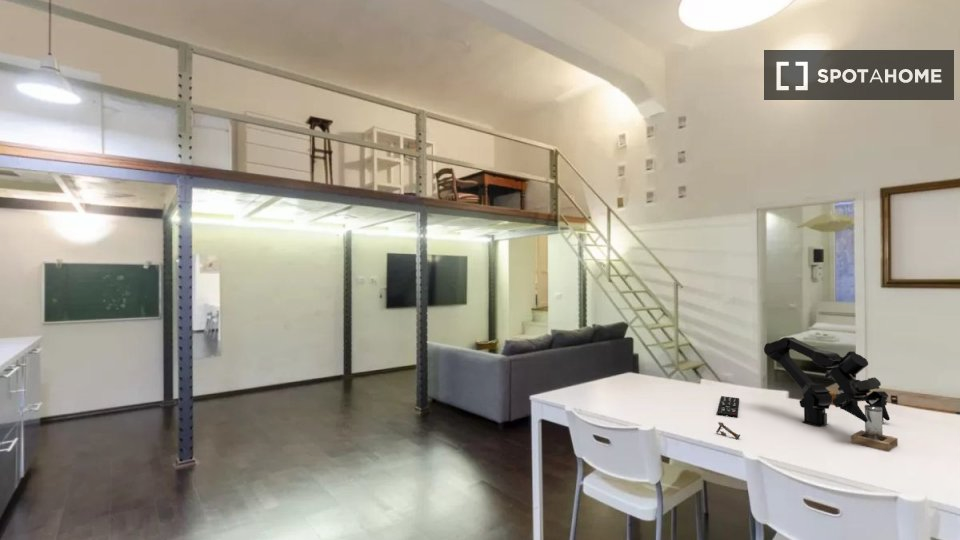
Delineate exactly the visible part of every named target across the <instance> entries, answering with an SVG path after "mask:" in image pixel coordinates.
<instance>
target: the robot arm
mask: <svg viewBox="0 0 960 540" xmlns="http://www.w3.org/2000/svg"><path fill="white" fill-rule="evenodd" d="M791 350H792V351H795V352H797V353H799V354H801V355H804V356H805V357H807V358H809V359H811V361H812V362H813V363H814V364H815V365H817V366H818V367H820V368H822V369H830V370H826V371H825V375H824V378H826V379H831V378H832V380H833V381H834V382H835V383H836V384H837V387H838V388H837V391H839V392H840V393H838V394H837V395H836V396H835V397H834V398H833V396H832V394H831V393H830V392H831V391H830V390H828V388H826V386H825V385H824V384H823V383H815V382H814V381H813V380H812V379H811V378H810V377H809V376H808V375H807V374H806V372H804V370H803V369H802V368H801V367H799V365H798V364H797V362H795V361H794V360H793V358H792V357H791V355H790V354H791V353H790V351H791ZM763 351H764V354H765V355H766V356H767V357H768V358H769V359H771V360H772V361H775V362H776V363H778V364H779V365H780V366H781V367H782V368H783V369H784V370H785V371H786V372H787V374H788V375H789V376H790V378H792V379H793V381H794V382H795V383H796V384H797V385H798V387H800V388H801V391H802V396H803V398H801V399H800V400H799V405H800V407H801V408H803V417H804V420H802V423H804V424H808V425H812V426H813V425H814V426H817V427H823V426H825V425H828V414H827V412H826V410H829V409H830V407H831V404H833V405H834V406H835V408H839V409H840V410H843V411H845V412H848V413H849V414H851V415H853V416H854V417H855V418H857V419H859V420H861V421H863V422H864V423H865V422H867V421H868V419H867V418H866V416H865V412H863V411H862V409H861V408H860V406H859V403H858V402H865V403H866V405H874V406H879V407H882V417H883V419H884V420H885V421H890V419H891V418H890V416H889V412H888V410H887V408H886V405H885V401H888V398H889V397H890V396H889V395H888V394H887V392H886V391H884V390H878V389H880V386H882V385H881V381H880V380H879V379H877V377H875V376H874V377H869V378H867V379H863V380H860V379H855V377H854V376H856V375H857V374H859V373H861V371H863V370H864V369H865V368H866V367H867V366H868V365H869V362H868V360H867V359H866V357H864V356H862V355H861V354H858V353H856V352H855V351H851V350H849V351H848V352H847V353H846V354H845V355H844V356H840V354H838V352H835V351H834V352H833V351H830V350H824V349H819V348H816V347H814V346H813V345H810V344H807V343H806V342H803V341H801V340H799V339H797V338H796V337H792V336H787V337H783V338H780V339H777V340H775V341H773V342H767V343H766V344H764V347H763ZM853 375H854V376H853ZM875 389H876V390H875ZM871 390H874V391H871Z"/></svg>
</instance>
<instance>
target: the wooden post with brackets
mask: <svg viewBox="0 0 960 540" xmlns="http://www.w3.org/2000/svg"><path fill="white" fill-rule="evenodd" d="M717 424H718V425H719V426H718V428H717V429H716V431H715V432H716V433H717V434H718V433H720V434H721V435H722V436H725V437H726V436H727V434H726V432H728V434H731V435H732V436H733V438H735V440H738V439H739V438H740V437H741V433H740V434H737V432H734V431H732V429H730V428H729V427H727V426H726V425H725V424H724V422H721V421H718V423H717ZM722 429H724V430H725V431H726V432H724V430H723V431H721V430H722Z"/></svg>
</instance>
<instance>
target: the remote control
mask: <svg viewBox="0 0 960 540" xmlns="http://www.w3.org/2000/svg"><path fill="white" fill-rule="evenodd" d="M739 409H740V398H739V397H732V396H723V395H721V396H720V399H719V403H718V408H717V412H716V416H719V417H720V416H721V417H728V418H736V419H738V418H739Z"/></svg>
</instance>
